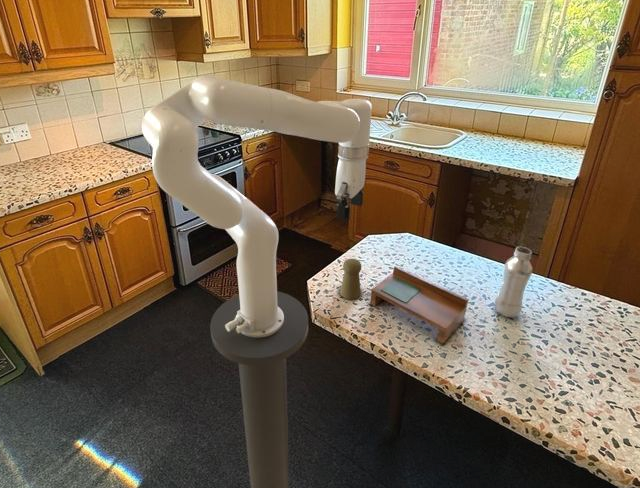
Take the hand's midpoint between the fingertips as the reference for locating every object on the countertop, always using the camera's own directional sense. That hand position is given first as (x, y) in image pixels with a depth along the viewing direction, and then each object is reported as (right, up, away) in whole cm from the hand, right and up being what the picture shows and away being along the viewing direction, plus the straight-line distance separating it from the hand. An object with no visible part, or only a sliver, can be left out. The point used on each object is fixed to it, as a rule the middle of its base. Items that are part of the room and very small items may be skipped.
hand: (350, 212), depth 106 cm
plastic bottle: (+43, -28, +3) cm, 51 cm away
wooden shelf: (+18, -27, +3) cm, 33 cm away
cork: (+1, -24, +11) cm, 26 cm away
